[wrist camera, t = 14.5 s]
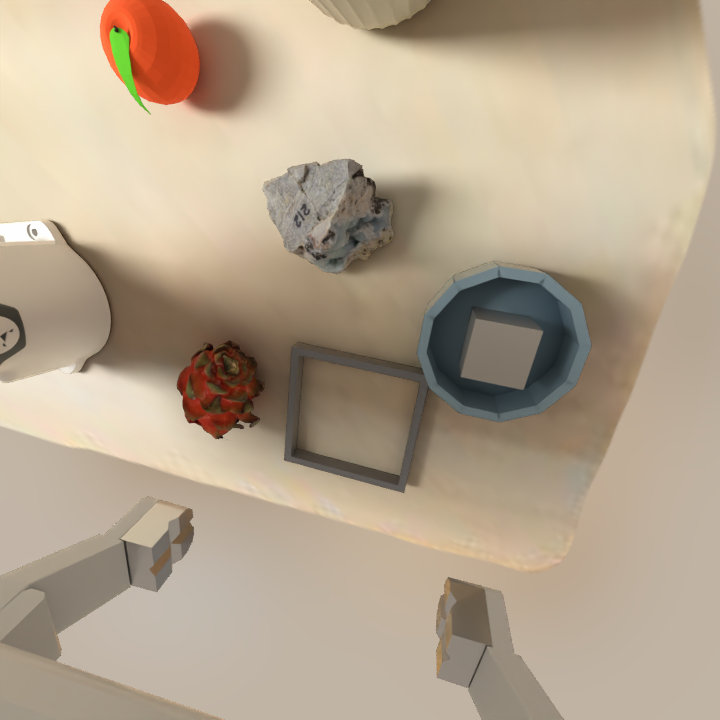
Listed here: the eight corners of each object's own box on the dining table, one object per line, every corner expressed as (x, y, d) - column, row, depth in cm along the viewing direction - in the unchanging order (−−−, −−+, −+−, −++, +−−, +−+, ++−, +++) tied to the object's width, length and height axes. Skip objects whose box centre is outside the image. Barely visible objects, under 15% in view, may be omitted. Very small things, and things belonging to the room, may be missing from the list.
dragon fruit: (261, 325, 41) (252, 404, 47) (177, 321, 37) (179, 407, 43) (273, 369, 34) (260, 454, 41) (173, 370, 31) (176, 463, 37)
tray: (289, 452, 44) (284, 460, 42) (297, 342, 39) (291, 346, 37) (405, 483, 41) (403, 492, 40) (431, 370, 36) (430, 376, 35)
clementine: (220, 129, 33) (163, 105, 27) (155, 127, 34) (86, 103, 28) (214, 19, 30) (150, -38, 24) (143, 21, 31) (64, -34, 25)
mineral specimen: (354, 249, 39) (360, 142, 33) (399, 279, 34) (416, 159, 27) (268, 264, 35) (256, 144, 28) (304, 301, 29) (299, 163, 23)
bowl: (411, 382, 37) (406, 401, 33) (438, 252, 32) (437, 256, 28) (543, 411, 35) (555, 435, 31) (593, 276, 30) (615, 284, 26)
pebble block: (459, 357, 34) (460, 376, 30) (472, 306, 32) (475, 318, 28) (513, 368, 33) (523, 390, 29) (529, 316, 32) (543, 331, 27)
